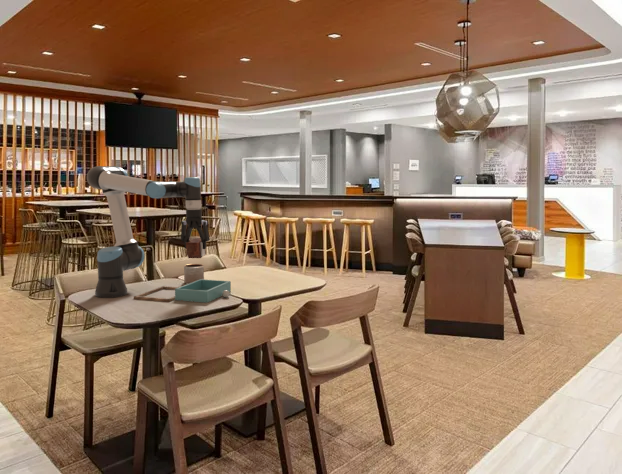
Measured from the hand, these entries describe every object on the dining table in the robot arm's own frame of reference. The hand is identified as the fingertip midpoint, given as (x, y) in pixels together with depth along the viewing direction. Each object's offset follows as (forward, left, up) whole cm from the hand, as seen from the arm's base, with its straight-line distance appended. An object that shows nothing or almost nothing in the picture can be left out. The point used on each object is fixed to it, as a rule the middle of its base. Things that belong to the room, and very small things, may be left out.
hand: (195, 255), depth 260 cm
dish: (+3, +1, -20) cm, 21 cm away
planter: (-18, +29, -20) cm, 40 cm away
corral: (-16, -3, -20) cm, 26 cm away
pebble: (+15, +1, -20) cm, 25 cm away
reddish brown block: (-1, +1, -1) cm, 2 cm away
